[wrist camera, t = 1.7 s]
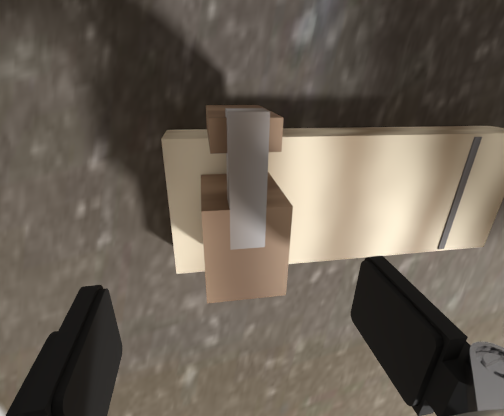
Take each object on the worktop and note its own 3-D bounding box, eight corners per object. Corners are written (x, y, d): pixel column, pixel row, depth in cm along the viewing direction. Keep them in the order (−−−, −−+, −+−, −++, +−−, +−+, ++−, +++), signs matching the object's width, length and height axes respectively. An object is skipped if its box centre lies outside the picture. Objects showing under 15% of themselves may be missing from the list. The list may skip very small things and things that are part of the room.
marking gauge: (267, 99, 17) (300, 111, 11) (262, 236, 20) (285, 295, 15) (196, 99, 16) (194, 111, 11) (204, 240, 20) (207, 303, 14)
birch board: (489, 125, 22) (531, 133, 19) (454, 228, 26) (484, 247, 23) (166, 129, 18) (161, 139, 16) (179, 249, 22) (176, 274, 19)
